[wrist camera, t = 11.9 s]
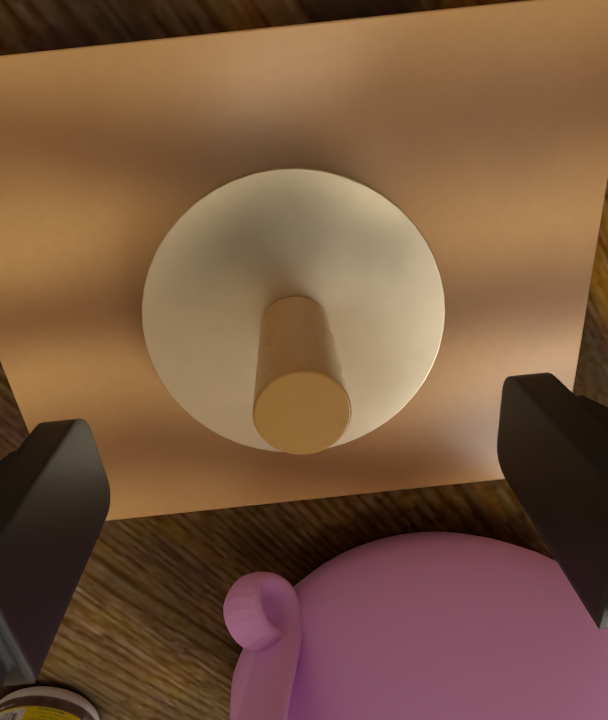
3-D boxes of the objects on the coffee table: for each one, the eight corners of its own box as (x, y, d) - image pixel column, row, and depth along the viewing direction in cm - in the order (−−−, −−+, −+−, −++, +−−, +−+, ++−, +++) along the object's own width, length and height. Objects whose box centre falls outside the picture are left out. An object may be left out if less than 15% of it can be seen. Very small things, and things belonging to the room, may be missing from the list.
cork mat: (-104, 70, 14) (-120, 67, 13) (625, -7, 14) (639, -12, 13) (71, 515, 20) (65, 525, 20) (552, 464, 21) (560, 473, 20)
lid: (117, 182, 14) (16, 220, 9) (438, 148, 14) (537, 165, 9) (182, 446, 19) (140, 586, 13) (432, 419, 19) (498, 548, 13)
